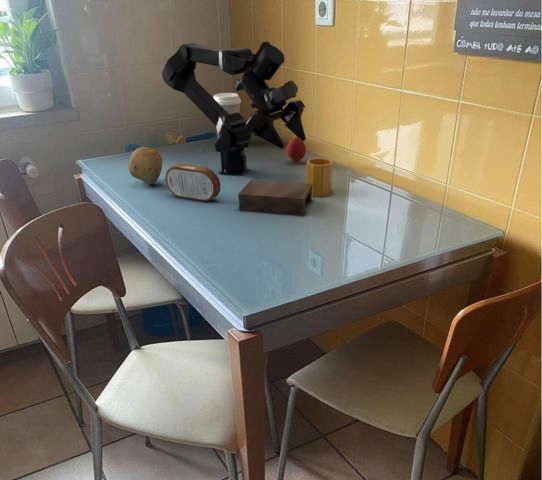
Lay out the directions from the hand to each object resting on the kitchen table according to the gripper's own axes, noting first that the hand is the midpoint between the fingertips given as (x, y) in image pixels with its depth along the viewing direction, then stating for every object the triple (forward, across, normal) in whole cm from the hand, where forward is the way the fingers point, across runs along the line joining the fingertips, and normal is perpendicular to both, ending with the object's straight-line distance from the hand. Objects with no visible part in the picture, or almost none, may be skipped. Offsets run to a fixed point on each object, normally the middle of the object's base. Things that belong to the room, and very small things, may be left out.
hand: (294, 143), depth 140 cm
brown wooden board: (+11, -14, +4) cm, 19 cm away
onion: (-1, +18, +17) cm, 24 cm away
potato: (-16, -22, +32) cm, 42 cm away
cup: (+14, 0, +2) cm, 14 cm away
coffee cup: (-23, +22, +39) cm, 51 cm away
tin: (-3, -23, +19) cm, 30 cm away
